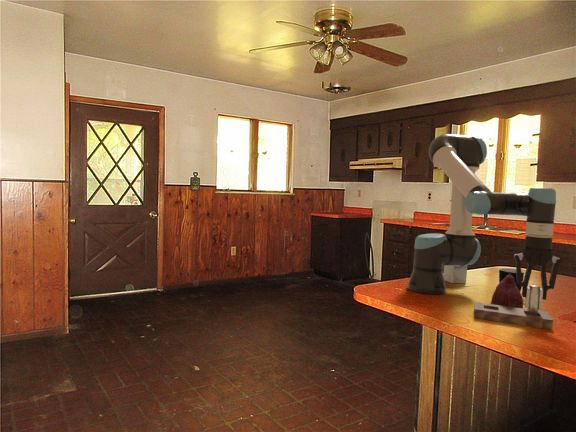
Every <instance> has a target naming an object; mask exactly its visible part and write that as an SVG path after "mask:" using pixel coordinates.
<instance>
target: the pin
mask: <svg viewBox="0 0 576 432" xmlns="http://www.w3.org/2000/svg"><path fill="white" fill-rule="evenodd" d="M528 285H529V286H528V287H529V288H530V295H529V307H528V308H527V309H528V310H527V314H528V315H535V316H538V311H539V310H538V308H539V296H540V288H541V286H539V285H534V284H528Z"/></svg>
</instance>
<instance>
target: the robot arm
mask: <svg viewBox="0 0 576 432" xmlns="http://www.w3.org/2000/svg"><path fill="white" fill-rule="evenodd" d="M487 155H488V148H487V144H486V142H485V141H484V140H483V139H482V137H479V136H476V135H469V134H467V135H466V134H454V133H453V134H452V133H444V134H440V135H439V136H437V137H435V138H434V139H432V141H431V143H430V145H429V147H428V156H429V160H430V161H431V163H432V164H433V165H434V167H437V168H440V169H441V170H442V172H444V174H445V175H446V176H447V177H448V178H449V180H450V181H451V197H450V198H451V199H450V215H449V228H448V229H447V231H445V234H443V233H425V234H423V233H422V234H419V235H417V236H416V237H415V241H414V247H413V248H414V250H413V251H414V253H413V266H412V267H413V269H412V273H411V274H410V278H409V279H408V282H407V289H408V290H410V291H412V292H415V293H420V294H426V295H444V294H446V292H447V285H446V281H445V280H444V277H443V275H444V265H461V266H465V265H467V266H471V265H474V264H475V263H476V262H477V261H478V260H479V258H480V256H481V251H482V246H481V244H480V241H479V239H477V238H476V234H475V233H474V231H473V230H472V229H473V228H472V227H473V214H475V215H480V216H481V215H493V216H494V215H499V216H521V217H526V222H525V223H526V225H525V234H526V236H525V237H524V238H525V239H524V248H523V250H522V252H520V253H515V254H513V258H514V260H515V269H516V282H517V284H518V285H520V286H522V288H521V295H522V298H525V299H524V300H525V301H524V309H528V307H529V295H530V288H529V286H528V285H529V283H530V278H531V274H532V271H533V268H534V266H539V268H540V269H539V271H540V279H541V280H540V281H541V287H540V296H539V308H538V311H543V310H542V309H543V300H544V301H545V300H547V295H548V291H549V290H553V289H555V286H556V282H557V281H556V280H557V276H558V269H559V266H560V265H561V263H562V259H561V258H560V257H557V256H555V255H554V254H553V251H552V249H553V240H554V239H553V238H552V236H554V223H555V215H556V203H557V191H556V189H555V188H553V187H552V188H551V187H531V188H529V190H528V193H517V192H496V191H491V190H490V188H488V186H487V185H485V183H484V182H482V180H481V179H480V178H479V177H478V176H477V175H476V172H477V171H478V170H479V169H480V165H482V164H484V162H485V161H486V158H487ZM523 258H525V260H526V261H527V265H526V270H525V272H524V277H523V282H522V281H521V271H522V262H521V261H523ZM550 260H551V262H552V266H551V269H550V270H551V271H550V275H549V281H548V280H547V267H546V266H547V265H546V264H548V263H549V261H550Z"/></svg>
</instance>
